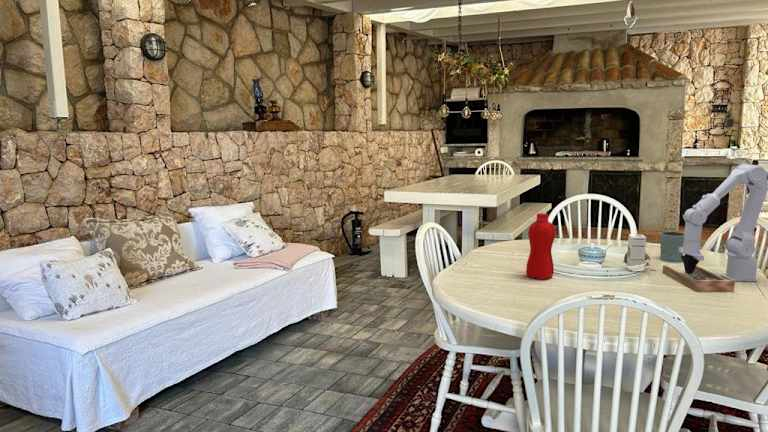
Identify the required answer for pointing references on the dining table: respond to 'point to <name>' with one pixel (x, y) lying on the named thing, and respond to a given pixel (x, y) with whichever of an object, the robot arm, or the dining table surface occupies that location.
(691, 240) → the robot arm
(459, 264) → the dining table surface
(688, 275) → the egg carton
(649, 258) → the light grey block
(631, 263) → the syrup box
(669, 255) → the grey cup
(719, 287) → the bay
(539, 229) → the water bottle
